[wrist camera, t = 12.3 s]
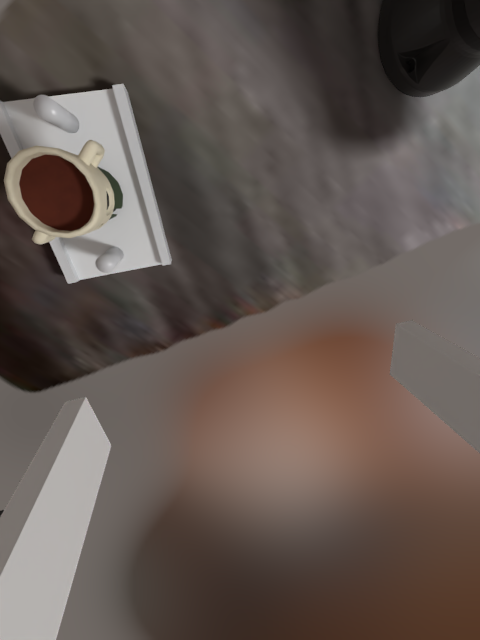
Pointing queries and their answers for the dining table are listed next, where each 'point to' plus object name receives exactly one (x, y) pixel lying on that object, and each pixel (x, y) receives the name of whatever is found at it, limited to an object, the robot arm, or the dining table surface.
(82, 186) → the character mug
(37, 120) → the tray
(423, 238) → the dining table surface
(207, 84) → the dining table surface
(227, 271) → the dining table surface
